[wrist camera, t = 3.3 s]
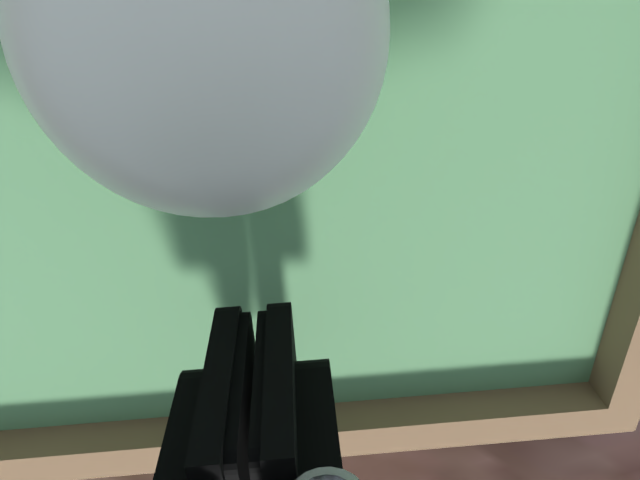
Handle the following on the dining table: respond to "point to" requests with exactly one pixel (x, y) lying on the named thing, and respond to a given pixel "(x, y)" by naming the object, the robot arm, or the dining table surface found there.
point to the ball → (199, 92)
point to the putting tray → (358, 256)
